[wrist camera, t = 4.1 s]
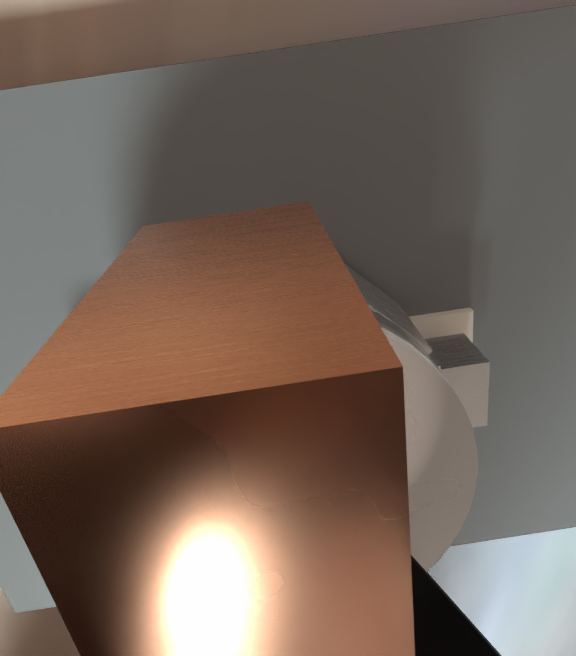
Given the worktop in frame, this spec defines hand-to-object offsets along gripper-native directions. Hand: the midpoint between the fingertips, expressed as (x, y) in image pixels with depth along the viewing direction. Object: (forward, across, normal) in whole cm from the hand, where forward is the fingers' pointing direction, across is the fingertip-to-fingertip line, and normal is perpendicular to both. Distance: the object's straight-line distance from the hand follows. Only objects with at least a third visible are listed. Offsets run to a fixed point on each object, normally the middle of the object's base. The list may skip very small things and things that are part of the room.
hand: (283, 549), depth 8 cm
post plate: (+7, 0, 0) cm, 7 cm away
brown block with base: (+5, 0, 0) cm, 5 cm away
